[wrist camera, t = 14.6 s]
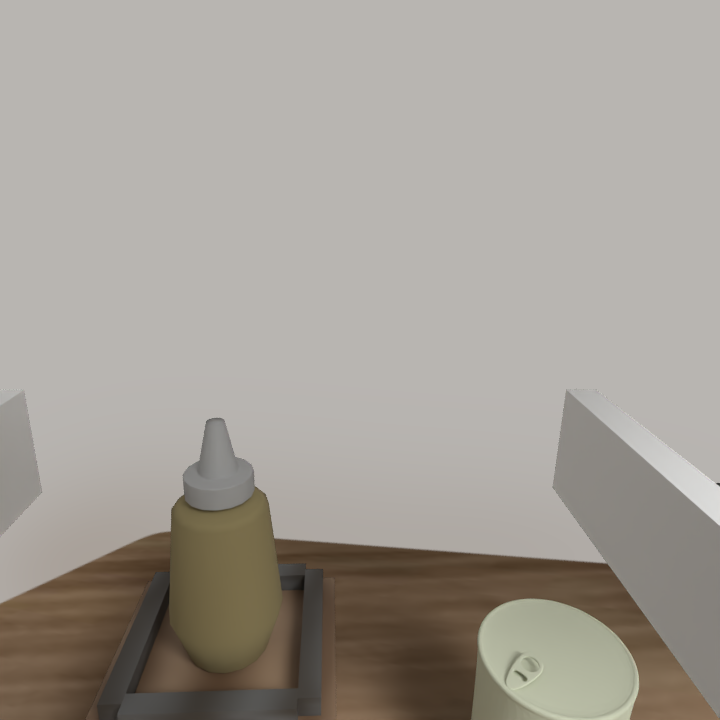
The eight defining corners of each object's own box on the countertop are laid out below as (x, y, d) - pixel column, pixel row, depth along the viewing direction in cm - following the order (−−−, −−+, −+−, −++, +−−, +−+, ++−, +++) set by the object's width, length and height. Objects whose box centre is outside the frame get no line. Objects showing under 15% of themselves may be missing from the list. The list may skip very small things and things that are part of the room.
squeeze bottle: (306, 635, 42) (303, 418, 37) (222, 711, 36) (204, 463, 31) (234, 590, 47) (223, 390, 42) (149, 650, 41) (122, 424, 35)
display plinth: (334, 623, 50) (334, 563, 48) (336, 782, 37) (336, 707, 35) (153, 628, 49) (146, 566, 47) (88, 792, 36) (75, 716, 34)
